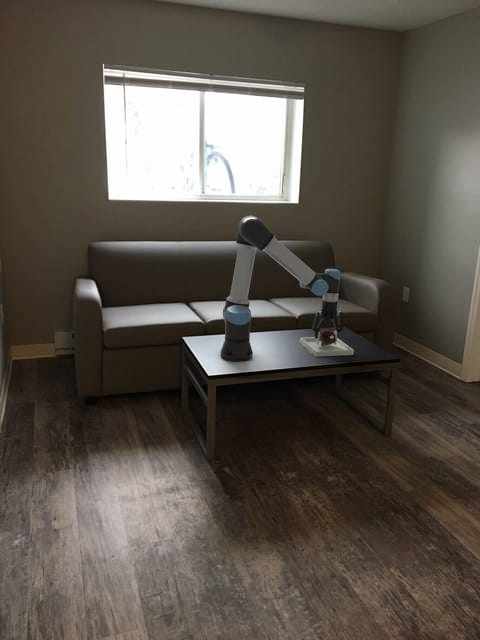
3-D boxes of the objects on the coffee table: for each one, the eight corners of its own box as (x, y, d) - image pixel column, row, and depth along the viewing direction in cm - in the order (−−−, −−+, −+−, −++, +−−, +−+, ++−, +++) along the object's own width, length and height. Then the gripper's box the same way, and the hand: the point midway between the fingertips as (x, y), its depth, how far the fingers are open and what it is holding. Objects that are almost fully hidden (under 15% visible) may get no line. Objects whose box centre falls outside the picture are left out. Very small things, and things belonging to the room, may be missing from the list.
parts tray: (315, 356, 247) (315, 351, 246) (299, 342, 267) (299, 337, 266) (353, 354, 252) (354, 350, 251) (334, 340, 272) (335, 336, 271)
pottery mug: (337, 344, 262) (340, 333, 256) (329, 355, 256) (331, 345, 250) (317, 334, 266) (319, 323, 260) (308, 345, 261) (310, 334, 255)
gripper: (312, 302, 246) (308, 347, 252) (353, 302, 252) (348, 345, 258) (306, 298, 253) (303, 342, 259) (346, 298, 259) (342, 340, 265)
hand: (325, 343), depth 259 cm, fingers closed on pottery mug, 9 cm apart
